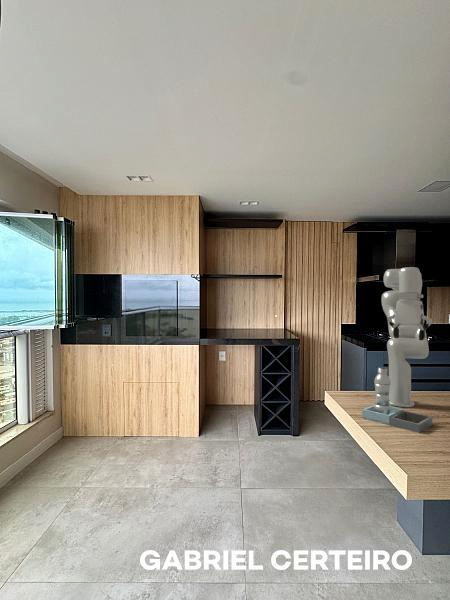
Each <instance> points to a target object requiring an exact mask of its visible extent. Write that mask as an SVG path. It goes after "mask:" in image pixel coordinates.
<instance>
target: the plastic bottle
mask: <svg viewBox="0 0 450 600" xmlns="http://www.w3.org/2000/svg"><path fill="white" fill-rule="evenodd" d="M373 381H374V388H375V389H374V390H375V399H374V404H373V405H374V412H378V413H382V414H386V415H389V414H390V411H391V410H390V406H391V405H390V404H389V390H390V384H391V381H390V378H389V374H388V368H387V367H377V374H376V376H375V377H374V380H373Z"/></svg>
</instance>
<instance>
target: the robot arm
mask: <svg viewBox="0 0 450 600" xmlns="http://www.w3.org/2000/svg"><path fill="white" fill-rule="evenodd" d="M383 284H384V286H385V287H386V288H389V289H392V290H388V291H384V292H383V293H382V294H381V298H380V299H381V306H382V310H383V312H384V314H385V316H386V321H387V325H388V326H387V327H388V333H389V336H390V338H389V339H388V341H387V342H386V343H387V344H386V349H387V354H388V356H387V357H388V377H389V378H390V381H391V384H390V390H389V404H390V406H392V407H397V408H412V407H415V402H414V401H412V396H413V395H412V367H411V364H410V363H408V361H406V359H418V360H420V359H422V360H423V359H426V358H427V357H428V356H429V353H430V351H429V350H430V349H429V343H428V339H427V338H428V337H427V333H426V332H427V331H426V330H427V329H428V328H429V327H431V325H432V322H433V319H432V318H430V317H428V316H426V315H424V314H425V313H424V304H423V301H422V300H421V299H423V298H424V294H422V287H423V279H422V273H421V272H420V269H419V268H418V267H413V266H410V267H408V266H407V267H406V266H405V267H402V268H390V269H389V268H388V269H386V271H385V272H384V275H383ZM425 321H426V324H425Z"/></svg>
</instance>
